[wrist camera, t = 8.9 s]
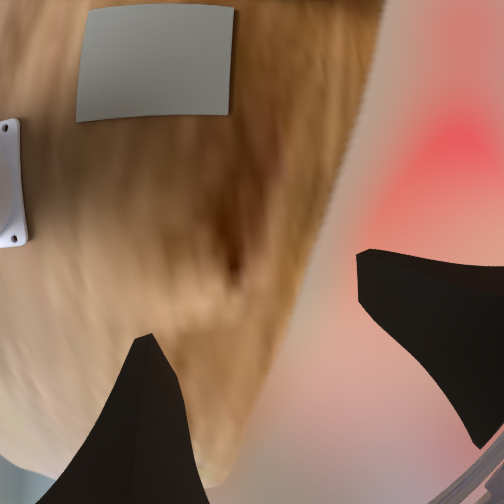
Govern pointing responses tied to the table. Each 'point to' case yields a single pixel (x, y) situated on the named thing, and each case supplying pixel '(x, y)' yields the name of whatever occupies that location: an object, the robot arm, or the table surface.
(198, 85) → the mat
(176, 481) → the robot arm
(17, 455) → the table surface
